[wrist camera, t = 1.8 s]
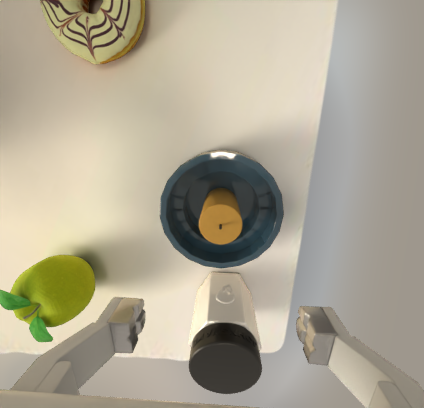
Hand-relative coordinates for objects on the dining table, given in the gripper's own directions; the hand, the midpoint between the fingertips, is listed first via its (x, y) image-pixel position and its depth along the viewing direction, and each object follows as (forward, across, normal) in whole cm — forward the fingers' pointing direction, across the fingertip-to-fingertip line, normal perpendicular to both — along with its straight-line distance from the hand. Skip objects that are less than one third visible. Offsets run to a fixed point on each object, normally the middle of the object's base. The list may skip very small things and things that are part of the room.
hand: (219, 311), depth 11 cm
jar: (+20, -1, +16) cm, 25 cm away
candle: (+19, 0, 0) cm, 19 cm away
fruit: (+19, +23, +12) cm, 32 cm away
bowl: (+19, 0, 0) cm, 19 cm away
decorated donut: (+19, +14, -22) cm, 33 cm away
